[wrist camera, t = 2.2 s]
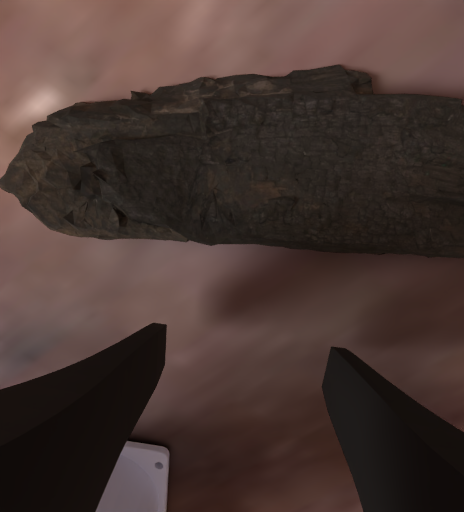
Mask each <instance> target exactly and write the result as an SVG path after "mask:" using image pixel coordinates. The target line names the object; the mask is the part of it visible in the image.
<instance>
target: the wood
mask: <svg viewBox="0 0 464 512" xmlns="http://www.w3.org/2000/svg"><path fill="white" fill-rule="evenodd" d="M131 94H132V97H131V100H129V99H122V100H118V101H104V102H95V103H92V104H87V103H84V102H80V103H75V104H74V105H73V106H70V107H67V108H65V109H62V110H59V111H57V112H55V113H53V114H50V115H48V116H47V121H42V122H37V123H36V124H34V125H32V128H33V133H31V134H29V135H27V136H26V138H25V140H24V142H23V144H22V146H21V148H20V150H19V153H18V154H17V155H16V157H15V158H14V159H13V160H12V161H11V163H10V164H9V166H8V169H7V171H6V174H5V175H4V176H3V177H2V178H1V179H0V188H1V189H3V190H4V191H6V192H8V193H12V194H14V195H15V196H16V197H17V198H18V199H19V201H20V203H21V205H22V207H24V208H25V209H27V210H28V211H30V212H31V213H33V214H34V216H35V217H36V218H37V219H38V220H40V221H41V222H42V223H43V224H44V225H46V226H47V227H48V228H49V229H51V230H54V231H57V232H60V233H63V234H67V235H71V236H77V237H95V238H98V239H104V240H113V239H157V240H174V241H181V242H187V241H189V240H191V241H194V242H198V243H202V244H206V245H210V246H212V245H216V244H259V245H266V246H283V247H287V248H290V249H308V250H315V251H323V252H338V253H367V254H379V255H380V254H385V253H393V254H412V255H422V256H426V257H448V258H464V106H463V105H461V103H462V99H456V98H449V97H441V96H429V95H415V94H373V91H372V85H371V77H370V76H369V75H368V74H367V73H364V72H359V71H348V70H344V69H343V68H342V67H341V66H340V65H334V66H329V67H323V68H318V69H313V70H298V71H292V72H291V73H290V74H288V75H287V76H285V77H269V76H262V75H256V74H248V75H235V76H228V77H223V78H217V79H216V80H215V79H210V78H206V77H200V78H198V79H196V80H194V81H192V82H189V83H184V84H179V85H177V86H166V87H159V88H158V89H157V90H156V91H155V92H154V93H153V94H151V95H149V94H146V93H140V92H135V91H131Z"/></svg>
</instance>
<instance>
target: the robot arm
mask: <svg viewBox="0 0 464 512" xmlns="http://www.w3.org/2000/svg"><path fill="white" fill-rule="evenodd" d="M166 328H167V325H166V324H158V323H152V324H150V325H148V326H146V327H144V328H143V329H141V330H139V331H137V332H136V333H134V334H132V335H130V336H129V337H127V338H125V339H123V340H122V341H120V342H118V343H116V344H114V345H112V346H110V347H108V348H106V349H104V350H102V351H101V352H99V353H97V354H95V355H93V356H91V357H88V358H86V359H84V360H82V361H80V362H77V363H75V364H73V365H70V366H68V367H65V368H63V369H60V370H58V371H55V372H52V373H49V374H47V375H44V376H41V377H38V378H35V379H32V380H29V381H27V382H24V383H21V384H17V385H14V386H11V387H7V388H4V389H1V390H0V512H166V509H167V491H168V473H169V456H170V454H169V451H168V449H167V448H165V447H163V446H157V445H151V444H144V443H138V442H131V441H127V440H128V438H129V436H130V434H131V432H132V431H133V429H134V427H135V425H136V423H137V421H138V420H139V418H140V416H141V414H142V412H143V410H144V409H145V407H146V405H147V403H148V401H149V399H150V397H151V396H152V394H153V392H154V390H155V388H156V386H157V383H158V381H159V379H160V376H161V374H162V371H163V368H164V366H165V351H166ZM322 389H323V394H324V398H325V402H326V406H327V410H328V413H329V416H330V419H331V421H332V424H333V427H334V429H335V432H336V435H337V437H338V440H339V442H340V445H341V448H342V450H343V453H344V455H345V458H346V461H347V463H348V466H349V469H350V471H351V474H352V477H353V479H354V482H355V485H356V488H357V491H358V494H359V498H360V501H361V505H362V508H363V512H464V432H462V431H460V430H459V429H457V428H456V427H454V426H452V425H451V424H449V423H448V422H446V421H445V420H443V419H442V418H440V417H438V416H437V415H435V414H434V413H432V412H431V411H429V410H428V409H426V408H425V407H423V406H422V405H420V404H419V403H418V402H416V401H415V400H413V399H412V398H411V397H409V396H408V395H406V394H405V393H404V392H402V391H401V390H400V389H398V388H397V387H396V386H394V385H393V384H392V383H390V382H389V381H388V380H386V379H385V378H384V377H382V376H381V375H380V374H379V373H377V372H376V371H375V370H374V369H372V368H371V367H370V366H368V365H367V364H366V363H365V362H363V361H362V360H361V359H360V358H358V357H357V356H356V355H354V354H353V353H352V352H350V351H349V350H347V349H346V348H338V347H331V349H330V354H329V358H328V362H327V367H326V371H325V376H324V380H323V384H322Z"/></svg>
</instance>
